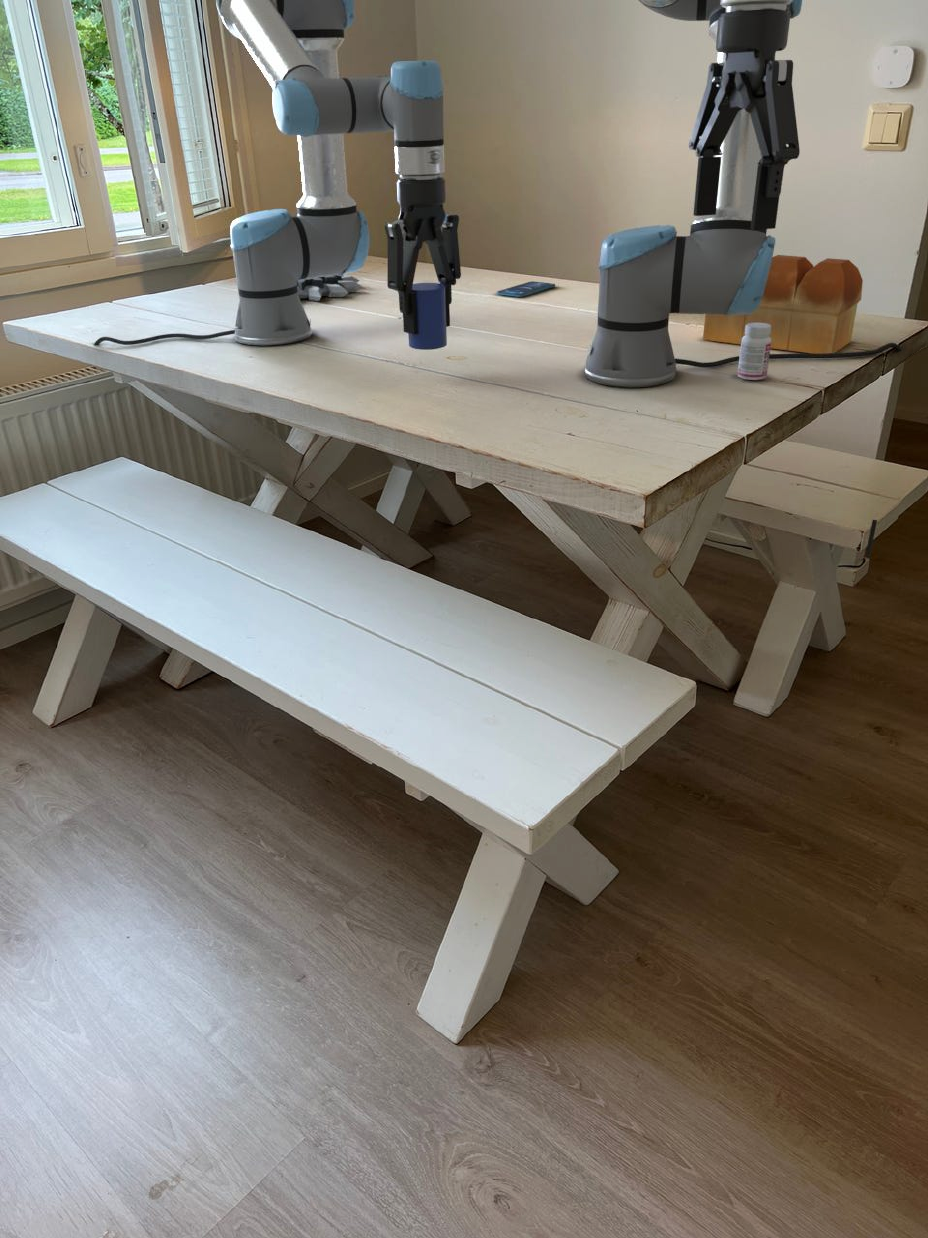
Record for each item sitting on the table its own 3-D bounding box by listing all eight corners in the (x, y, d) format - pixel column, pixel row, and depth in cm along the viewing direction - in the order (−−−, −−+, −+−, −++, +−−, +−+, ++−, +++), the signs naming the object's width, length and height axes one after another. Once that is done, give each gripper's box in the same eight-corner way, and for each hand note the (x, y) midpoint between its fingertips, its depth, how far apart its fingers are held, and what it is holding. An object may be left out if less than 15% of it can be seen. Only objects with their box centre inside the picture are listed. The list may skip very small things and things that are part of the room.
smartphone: (494, 291, 222) (531, 280, 232) (494, 294, 222) (531, 283, 232) (521, 295, 218) (557, 283, 228) (521, 297, 218) (557, 286, 228)
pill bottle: (768, 380, 155) (775, 328, 150) (738, 380, 155) (744, 328, 151) (765, 372, 159) (772, 321, 155) (736, 372, 160) (742, 321, 155)
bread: (700, 339, 180) (707, 257, 172) (725, 326, 188) (734, 247, 181) (832, 356, 167) (847, 268, 159) (853, 341, 175) (868, 257, 168)
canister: (412, 351, 155) (409, 291, 150) (405, 341, 160) (402, 284, 155) (450, 347, 156) (448, 288, 151) (442, 338, 161) (440, 281, 157)
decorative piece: (302, 291, 211) (212, 280, 226) (304, 309, 213) (214, 296, 228) (388, 270, 232) (300, 260, 247) (389, 286, 234) (302, 276, 249)
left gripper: (386, 183, 137) (396, 343, 149) (482, 172, 148) (484, 322, 160) (355, 180, 142) (367, 335, 154) (450, 170, 153) (454, 315, 165)
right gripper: (670, 16, 111) (657, 211, 122) (788, 0, 90) (759, 237, 101) (727, 15, 113) (709, 208, 123) (856, 0, 92) (821, 232, 102)
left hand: (427, 328), depth 157 cm, fingers closed on canister, 6 cm apart
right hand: (732, 221), depth 112 cm, fingers open, 13 cm apart
